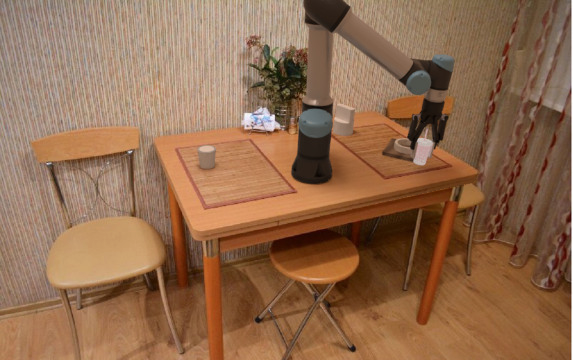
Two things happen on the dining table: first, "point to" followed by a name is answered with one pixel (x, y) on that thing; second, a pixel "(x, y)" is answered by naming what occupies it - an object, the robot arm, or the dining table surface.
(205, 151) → the gray tapered cup
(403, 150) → the ring
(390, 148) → the holder
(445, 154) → the dining table surface
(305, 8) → the robot arm
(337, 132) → the cylinder with rectangular tab
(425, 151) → the beverage cup
